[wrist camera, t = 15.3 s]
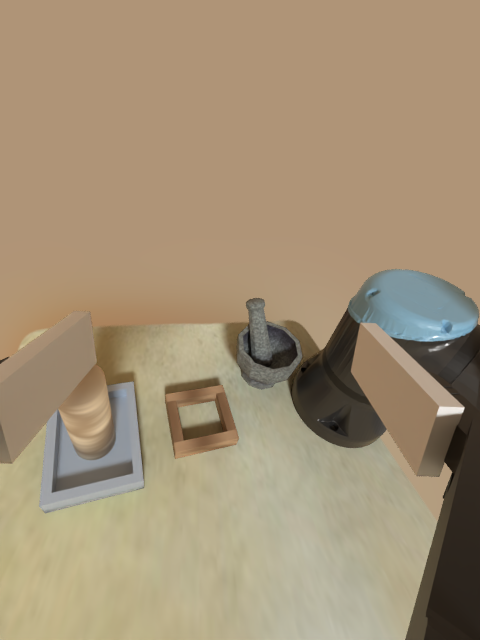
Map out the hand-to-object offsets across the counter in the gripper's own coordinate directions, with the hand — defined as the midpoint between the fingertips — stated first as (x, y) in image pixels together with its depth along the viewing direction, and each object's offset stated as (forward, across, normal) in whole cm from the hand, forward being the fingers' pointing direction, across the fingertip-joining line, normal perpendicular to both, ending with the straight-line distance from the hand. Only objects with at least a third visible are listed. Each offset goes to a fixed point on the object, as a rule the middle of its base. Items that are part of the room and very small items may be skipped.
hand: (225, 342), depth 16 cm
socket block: (+21, -4, -22) cm, 31 cm away
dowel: (+16, -16, -22) cm, 32 cm away
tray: (+17, -16, -23) cm, 32 cm away
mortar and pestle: (+31, +4, -20) cm, 37 cm away
